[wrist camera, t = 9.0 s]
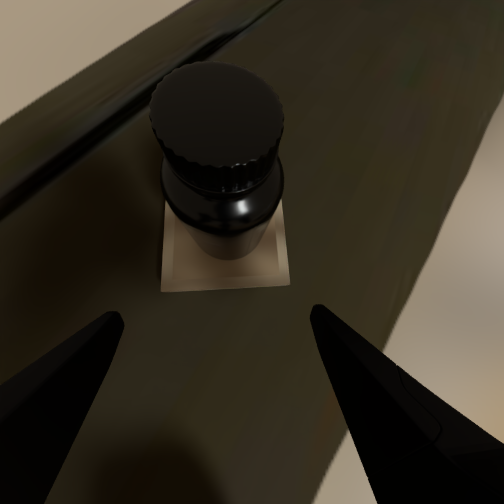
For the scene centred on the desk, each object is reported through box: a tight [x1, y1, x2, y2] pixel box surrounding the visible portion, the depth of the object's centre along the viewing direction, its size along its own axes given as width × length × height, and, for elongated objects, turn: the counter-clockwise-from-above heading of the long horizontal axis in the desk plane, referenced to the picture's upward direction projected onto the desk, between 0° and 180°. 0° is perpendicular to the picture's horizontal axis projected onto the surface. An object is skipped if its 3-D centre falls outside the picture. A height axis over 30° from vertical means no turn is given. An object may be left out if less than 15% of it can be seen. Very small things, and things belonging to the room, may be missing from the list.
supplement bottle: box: [149, 61, 284, 260], centre depth 12 cm, size 7×7×12 cm
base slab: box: [161, 200, 290, 292], centre depth 19 cm, size 12×12×2 cm
